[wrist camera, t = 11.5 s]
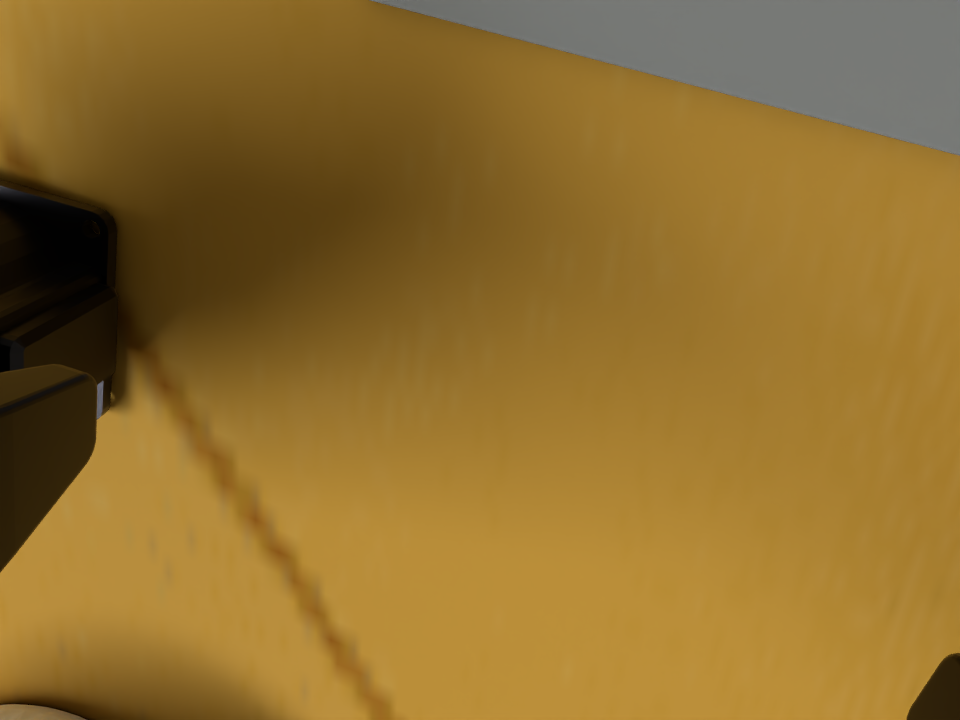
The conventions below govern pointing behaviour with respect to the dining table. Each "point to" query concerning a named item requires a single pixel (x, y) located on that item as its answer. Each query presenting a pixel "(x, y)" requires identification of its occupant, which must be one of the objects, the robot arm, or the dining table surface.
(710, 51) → the mat
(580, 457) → the dining table surface
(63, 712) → the ramekin
